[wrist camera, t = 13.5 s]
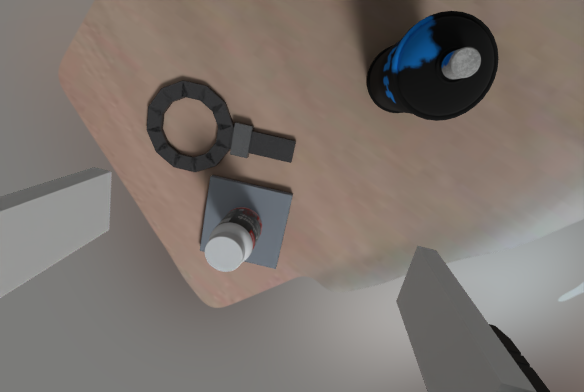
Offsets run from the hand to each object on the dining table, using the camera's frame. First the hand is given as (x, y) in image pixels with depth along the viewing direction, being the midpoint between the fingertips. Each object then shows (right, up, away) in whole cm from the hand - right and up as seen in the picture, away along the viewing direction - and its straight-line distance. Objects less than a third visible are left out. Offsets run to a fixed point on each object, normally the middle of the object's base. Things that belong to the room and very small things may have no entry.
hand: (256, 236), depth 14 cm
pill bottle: (-6, -2, +34) cm, 35 cm away
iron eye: (-8, +10, +31) cm, 34 cm away
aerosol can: (+15, +17, +27) cm, 35 cm away
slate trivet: (-6, -2, +35) cm, 35 cm away
